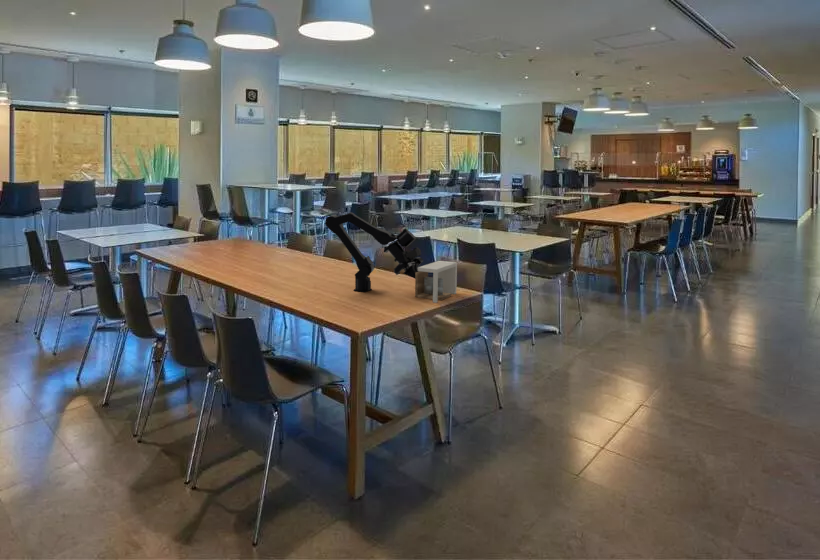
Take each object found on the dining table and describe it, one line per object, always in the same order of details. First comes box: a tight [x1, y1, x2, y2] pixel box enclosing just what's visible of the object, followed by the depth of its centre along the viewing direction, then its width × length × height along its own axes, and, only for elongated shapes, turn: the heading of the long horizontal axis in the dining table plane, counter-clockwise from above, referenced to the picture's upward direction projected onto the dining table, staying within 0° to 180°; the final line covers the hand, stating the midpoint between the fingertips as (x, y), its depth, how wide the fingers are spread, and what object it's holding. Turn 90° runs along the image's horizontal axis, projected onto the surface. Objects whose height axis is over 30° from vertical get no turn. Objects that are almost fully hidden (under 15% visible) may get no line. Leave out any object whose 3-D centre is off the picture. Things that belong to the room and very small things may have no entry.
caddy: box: [414, 271, 452, 301], centre depth 268 cm, size 13×10×11 cm
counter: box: [417, 260, 458, 304], centre depth 267 cm, size 9×21×14 cm, turn 152°
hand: (420, 279), depth 271 cm, fingers closed, pressing on caddy
